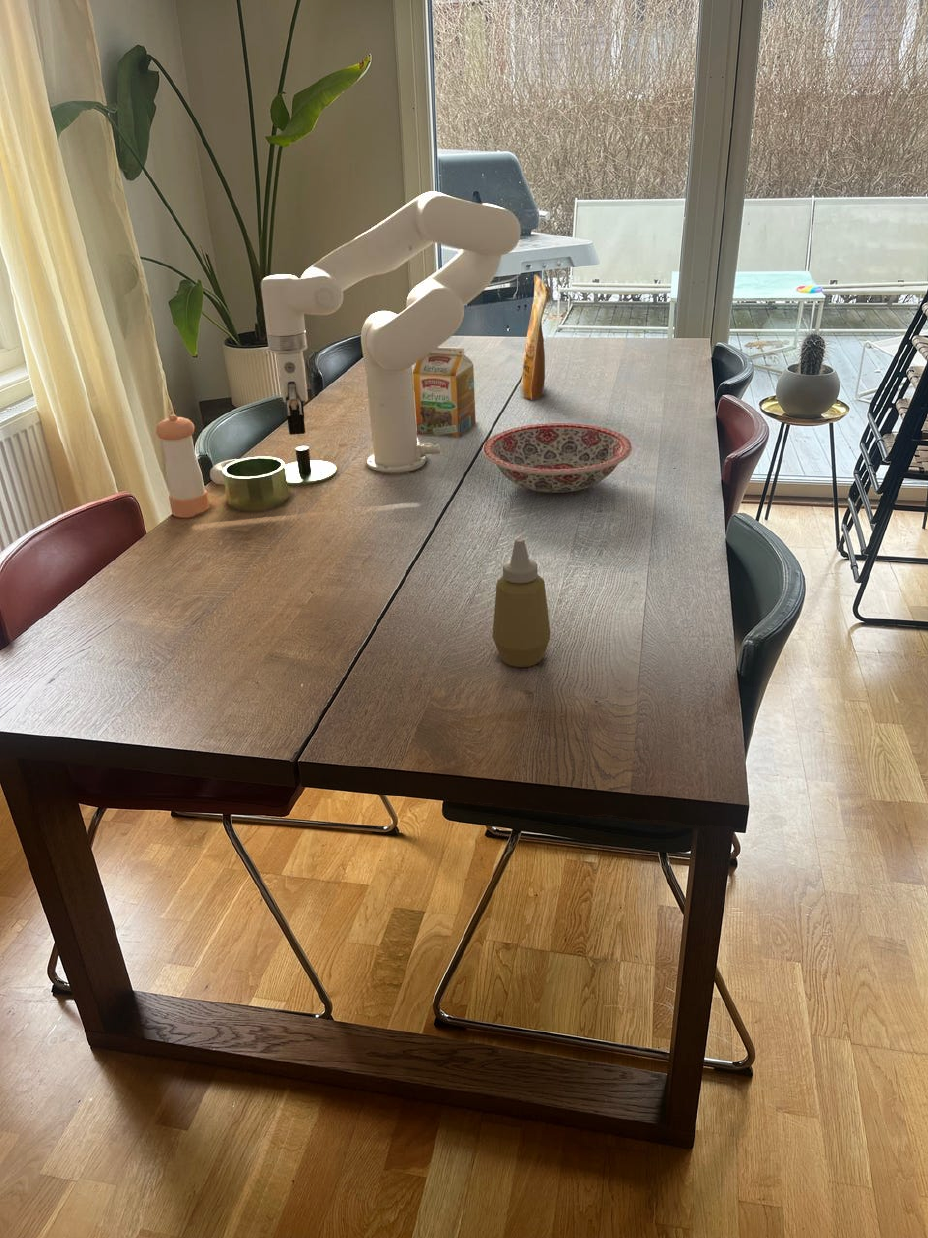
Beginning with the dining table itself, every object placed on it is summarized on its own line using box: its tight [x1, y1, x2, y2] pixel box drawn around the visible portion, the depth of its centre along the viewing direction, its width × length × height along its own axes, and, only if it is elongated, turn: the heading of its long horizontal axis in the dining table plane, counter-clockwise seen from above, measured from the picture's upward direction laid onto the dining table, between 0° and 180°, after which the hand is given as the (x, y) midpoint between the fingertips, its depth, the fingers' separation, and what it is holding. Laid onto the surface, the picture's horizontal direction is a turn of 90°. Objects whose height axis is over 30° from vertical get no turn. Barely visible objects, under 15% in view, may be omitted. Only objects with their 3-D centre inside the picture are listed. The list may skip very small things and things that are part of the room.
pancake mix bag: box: [521, 273, 550, 401], centre depth 242 cm, size 7×19×28 cm, turn 177°
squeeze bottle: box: [491, 537, 551, 668], centre depth 129 cm, size 8×8×18 cm
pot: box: [222, 456, 290, 510], centre depth 188 cm, size 12×12×7 cm
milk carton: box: [412, 346, 477, 438], centre depth 220 cm, size 11×10×19 cm
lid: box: [285, 445, 337, 486], centre depth 199 cm, size 13×13×6 cm
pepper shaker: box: [155, 414, 210, 519], centre depth 182 cm, size 7×7×19 cm
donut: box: [209, 458, 243, 486], centre depth 200 cm, size 10×4×10 cm
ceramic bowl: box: [482, 422, 633, 494], centre depth 188 cm, size 29×29×8 cm
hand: (297, 426), depth 195 cm, fingers open, 9 cm apart
